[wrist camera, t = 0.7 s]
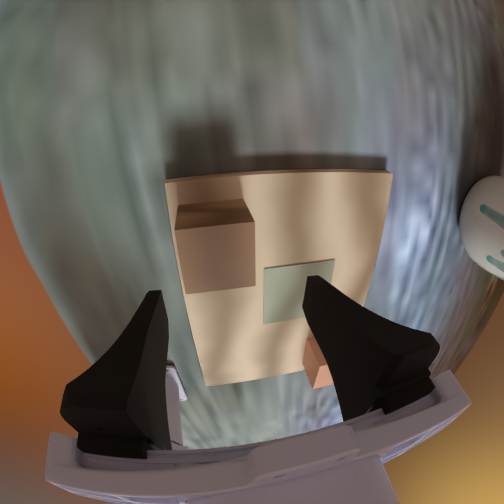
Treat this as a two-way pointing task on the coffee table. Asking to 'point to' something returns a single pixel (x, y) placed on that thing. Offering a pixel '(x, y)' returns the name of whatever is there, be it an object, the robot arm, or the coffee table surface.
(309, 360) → the terracotta block
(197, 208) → the walnut block
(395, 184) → the coffee table surface
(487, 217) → the vase
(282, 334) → the birch board
